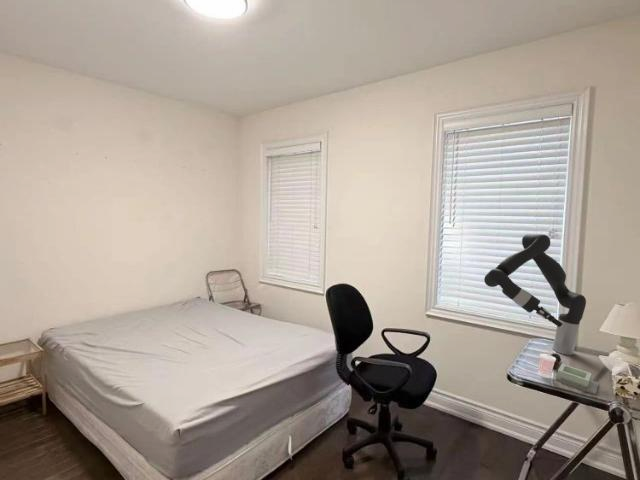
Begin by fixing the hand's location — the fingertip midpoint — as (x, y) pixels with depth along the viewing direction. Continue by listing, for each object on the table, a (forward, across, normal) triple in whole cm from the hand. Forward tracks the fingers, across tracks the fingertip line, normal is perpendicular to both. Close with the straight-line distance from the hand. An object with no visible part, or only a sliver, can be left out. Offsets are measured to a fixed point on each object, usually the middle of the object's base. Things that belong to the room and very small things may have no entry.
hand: (558, 324), depth 154 cm
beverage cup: (+9, -1, +23) cm, 24 cm away
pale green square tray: (+20, +1, +16) cm, 26 cm away
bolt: (+14, +18, +18) cm, 29 cm away
